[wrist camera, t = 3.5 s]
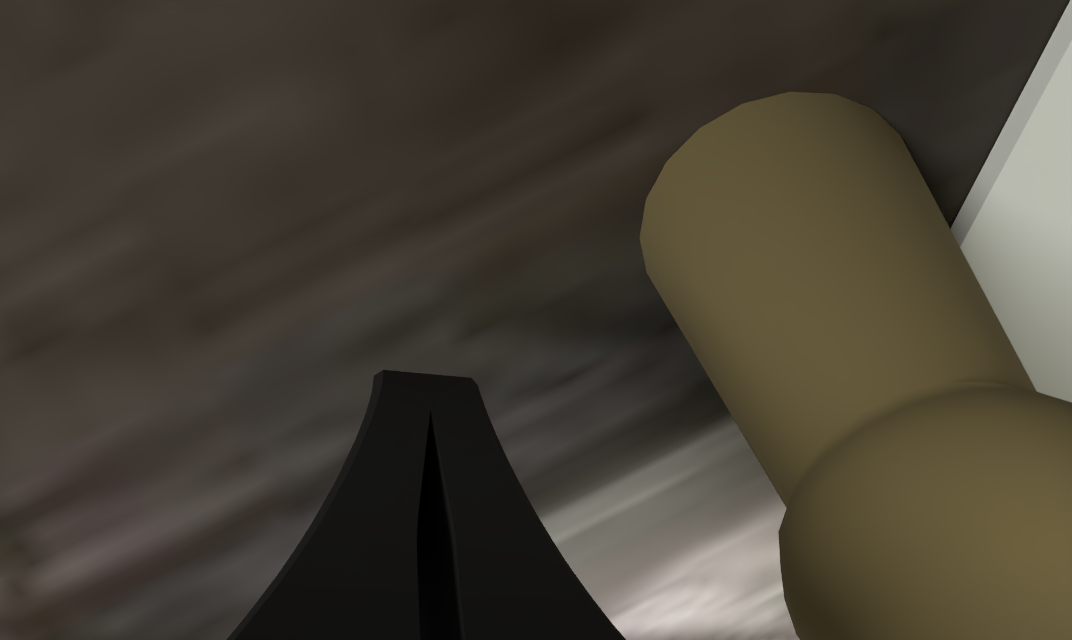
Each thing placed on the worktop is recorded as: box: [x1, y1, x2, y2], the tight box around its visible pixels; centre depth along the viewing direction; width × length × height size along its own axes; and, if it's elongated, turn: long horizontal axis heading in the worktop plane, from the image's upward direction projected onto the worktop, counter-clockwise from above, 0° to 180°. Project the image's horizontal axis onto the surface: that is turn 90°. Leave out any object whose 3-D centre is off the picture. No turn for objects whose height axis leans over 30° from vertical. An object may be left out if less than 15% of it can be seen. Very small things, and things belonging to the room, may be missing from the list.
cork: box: [640, 92, 1072, 640], centre depth 16 cm, size 6×6×11 cm
